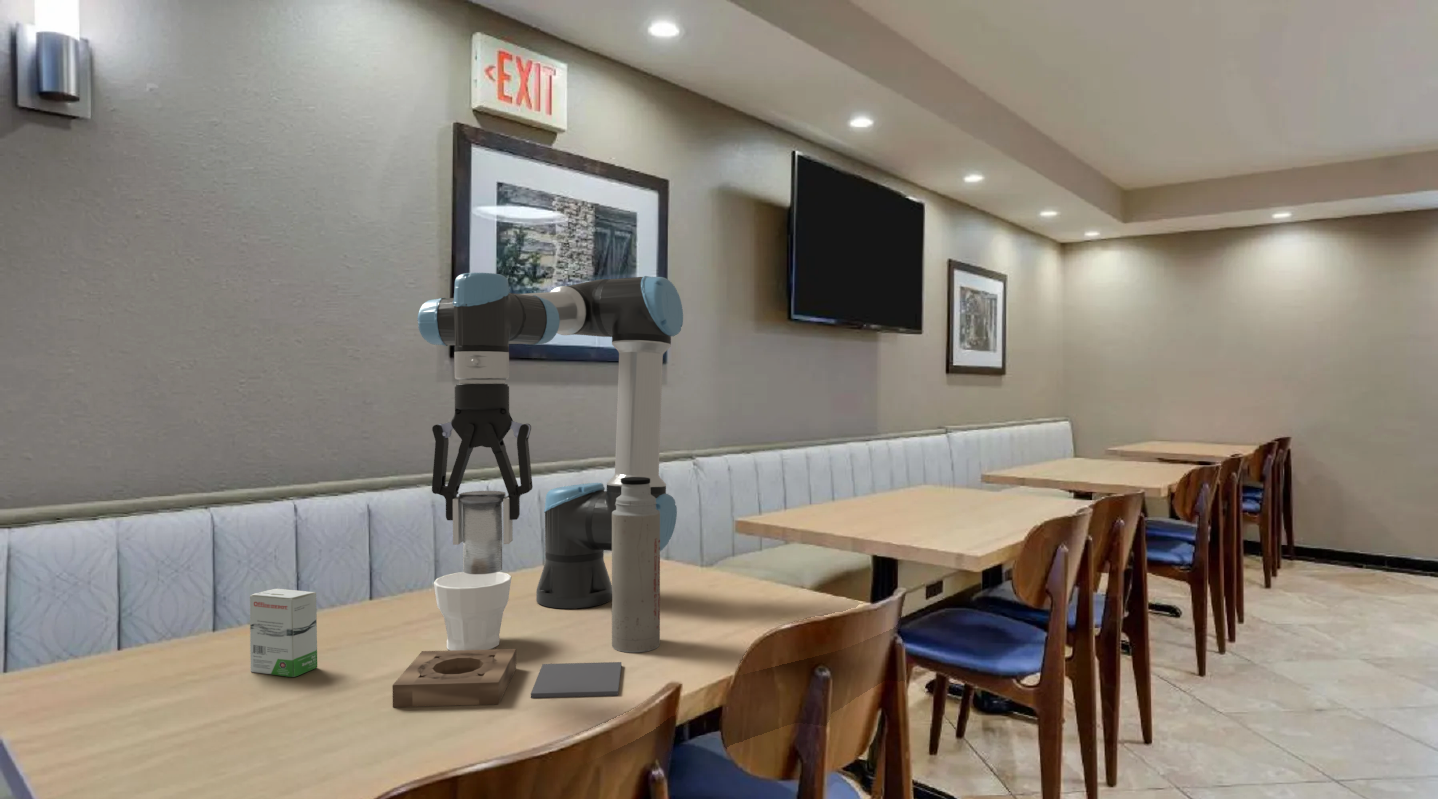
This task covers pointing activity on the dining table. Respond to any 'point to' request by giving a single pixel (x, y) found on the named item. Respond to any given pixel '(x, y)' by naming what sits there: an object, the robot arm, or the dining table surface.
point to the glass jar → (482, 531)
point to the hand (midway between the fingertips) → (483, 542)
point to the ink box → (283, 632)
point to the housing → (455, 678)
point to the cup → (472, 608)
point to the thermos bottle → (635, 568)
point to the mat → (577, 680)
